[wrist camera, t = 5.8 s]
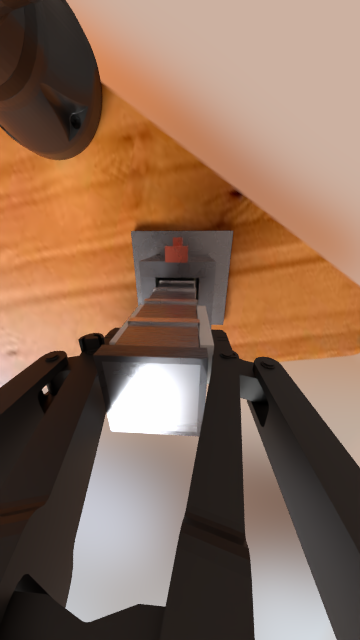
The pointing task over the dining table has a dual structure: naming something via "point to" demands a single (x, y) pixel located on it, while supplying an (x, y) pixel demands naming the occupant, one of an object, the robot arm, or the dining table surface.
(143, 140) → the dining table surface
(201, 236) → the sleeve
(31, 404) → the robot arm
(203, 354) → the column
